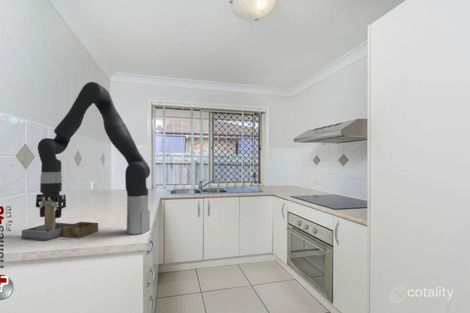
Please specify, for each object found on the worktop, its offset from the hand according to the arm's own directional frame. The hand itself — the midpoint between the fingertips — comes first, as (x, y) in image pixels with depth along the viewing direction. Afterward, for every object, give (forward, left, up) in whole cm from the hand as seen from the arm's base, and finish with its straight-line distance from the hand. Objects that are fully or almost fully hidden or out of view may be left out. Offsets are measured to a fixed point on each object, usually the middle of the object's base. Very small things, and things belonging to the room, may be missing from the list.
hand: (50, 217), depth 99 cm
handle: (0, 0, -7) cm, 7 cm away
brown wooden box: (-12, -4, -8) cm, 15 cm away
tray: (0, 0, -8) cm, 8 cm away
